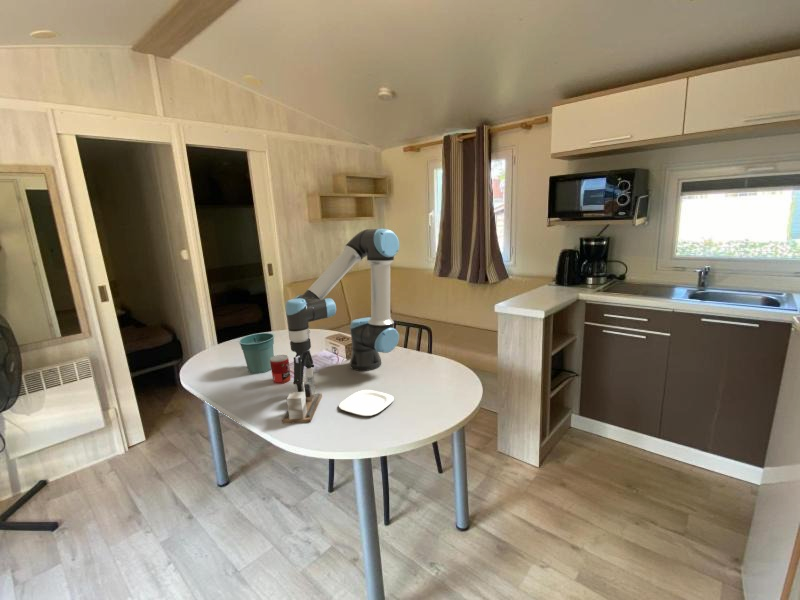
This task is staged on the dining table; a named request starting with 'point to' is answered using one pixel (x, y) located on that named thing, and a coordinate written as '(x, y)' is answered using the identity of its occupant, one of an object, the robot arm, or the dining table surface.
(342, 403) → the plate
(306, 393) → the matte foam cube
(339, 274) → the robot arm
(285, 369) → the canned food
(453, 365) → the dining table surface
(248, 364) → the flower pot
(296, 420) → the rail board
